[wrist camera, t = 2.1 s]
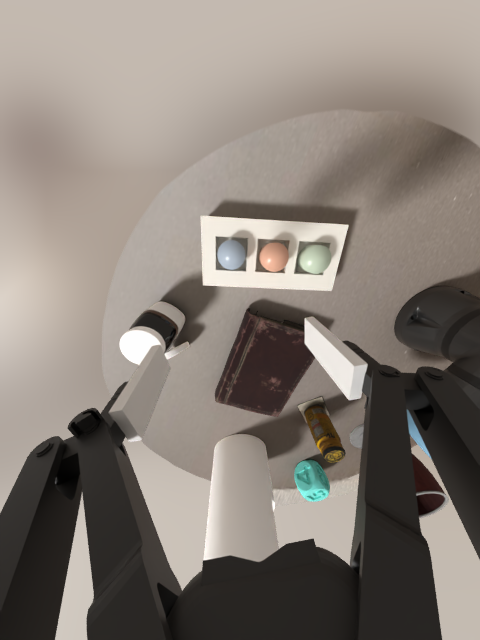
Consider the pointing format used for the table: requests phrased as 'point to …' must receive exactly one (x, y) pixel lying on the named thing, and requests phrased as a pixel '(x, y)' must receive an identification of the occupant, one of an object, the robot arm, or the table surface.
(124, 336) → the spread jar
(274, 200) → the table surface
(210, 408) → the table surface
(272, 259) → the terracotta button
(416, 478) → the mate gourd
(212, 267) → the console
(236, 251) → the slate button
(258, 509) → the cylinder
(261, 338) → the diary
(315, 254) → the sage button
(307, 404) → the condiment
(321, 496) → the decorative dice
